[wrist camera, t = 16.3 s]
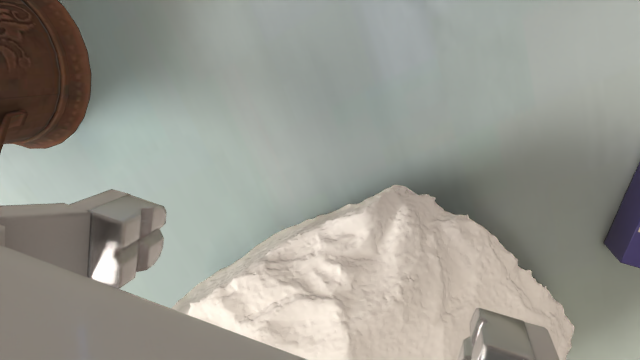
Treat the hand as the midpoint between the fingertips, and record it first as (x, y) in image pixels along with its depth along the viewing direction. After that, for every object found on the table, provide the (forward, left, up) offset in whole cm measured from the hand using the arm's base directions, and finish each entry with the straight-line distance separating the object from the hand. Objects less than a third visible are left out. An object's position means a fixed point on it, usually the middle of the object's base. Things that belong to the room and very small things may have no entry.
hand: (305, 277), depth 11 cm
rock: (+20, -1, -31) cm, 37 cm away
